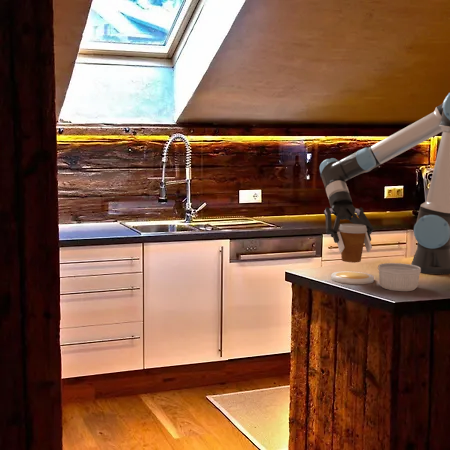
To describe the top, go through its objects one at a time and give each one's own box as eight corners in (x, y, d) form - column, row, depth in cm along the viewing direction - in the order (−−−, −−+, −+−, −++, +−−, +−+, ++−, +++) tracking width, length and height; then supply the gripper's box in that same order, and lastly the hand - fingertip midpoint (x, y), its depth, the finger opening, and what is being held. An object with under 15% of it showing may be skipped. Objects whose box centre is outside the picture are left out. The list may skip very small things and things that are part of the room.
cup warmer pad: (352, 274, 243) (352, 269, 243) (382, 281, 232) (382, 276, 232) (322, 278, 236) (322, 273, 235) (351, 285, 224) (352, 281, 224)
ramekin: (395, 281, 232) (396, 261, 232) (428, 289, 222) (429, 267, 221) (368, 286, 225) (369, 265, 224) (401, 294, 214) (402, 271, 213)
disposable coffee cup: (342, 263, 228) (344, 227, 226) (332, 258, 237) (334, 223, 235) (370, 263, 229) (372, 227, 228) (359, 258, 239) (361, 223, 237)
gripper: (364, 203, 248) (382, 255, 235) (306, 203, 243) (321, 256, 230) (371, 190, 242) (390, 242, 229) (312, 189, 237) (328, 243, 224)
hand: (355, 249), depth 229 cm, fingers closed on disposable coffee cup, 9 cm apart
